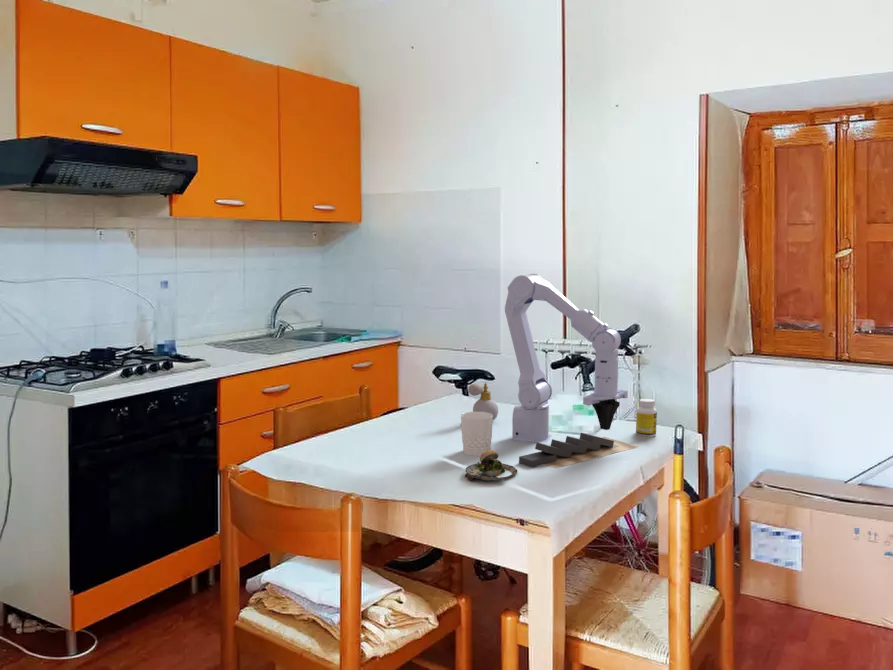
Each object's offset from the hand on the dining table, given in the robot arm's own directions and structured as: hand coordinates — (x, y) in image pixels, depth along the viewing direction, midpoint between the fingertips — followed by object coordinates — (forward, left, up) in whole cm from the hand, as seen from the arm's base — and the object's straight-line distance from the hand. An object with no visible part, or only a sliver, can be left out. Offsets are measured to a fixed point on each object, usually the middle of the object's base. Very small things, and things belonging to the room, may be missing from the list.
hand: (605, 429), depth 198 cm
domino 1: (-11, -16, -4) cm, 20 cm away
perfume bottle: (-37, +17, -5) cm, 41 cm away
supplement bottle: (+9, +16, -5) cm, 19 cm away
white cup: (-30, -15, -5) cm, 34 cm away
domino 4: (-2, -3, -4) cm, 6 cm away
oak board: (-5, -7, -5) cm, 10 cm away
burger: (-22, -31, -6) cm, 38 cm away
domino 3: (-5, -8, -4) cm, 10 cm away
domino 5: (0, +1, -4) cm, 4 cm away
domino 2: (-8, -12, -4) cm, 15 cm away
